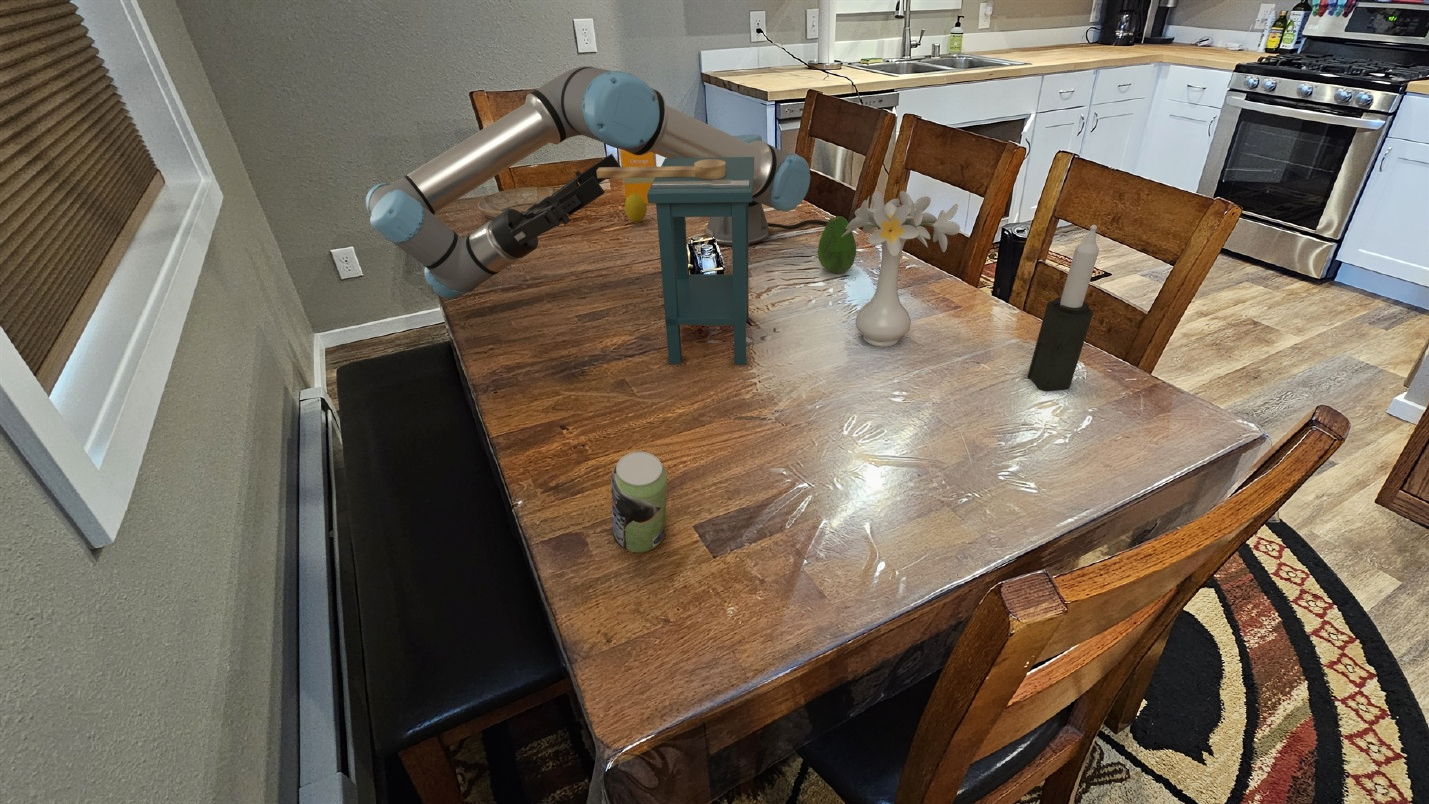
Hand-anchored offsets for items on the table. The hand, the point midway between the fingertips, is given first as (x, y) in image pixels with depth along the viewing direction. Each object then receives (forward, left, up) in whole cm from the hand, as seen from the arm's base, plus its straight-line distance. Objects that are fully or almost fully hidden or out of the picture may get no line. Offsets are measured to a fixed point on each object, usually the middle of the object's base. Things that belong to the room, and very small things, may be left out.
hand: (608, 172), depth 102 cm
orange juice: (-26, -81, -30) cm, 90 cm away
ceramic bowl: (+7, -82, -30) cm, 87 cm away
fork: (-11, +12, -1) cm, 16 cm away
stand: (-14, +5, -30) cm, 33 cm away
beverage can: (+11, +48, -30) cm, 58 cm away
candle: (-57, +40, -30) cm, 76 cm away
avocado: (-49, -12, -30) cm, 58 cm away
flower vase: (-42, +17, -30) cm, 54 cm away
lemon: (-19, -62, -30) cm, 71 cm away
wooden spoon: (-8, +4, -1) cm, 8 cm away
